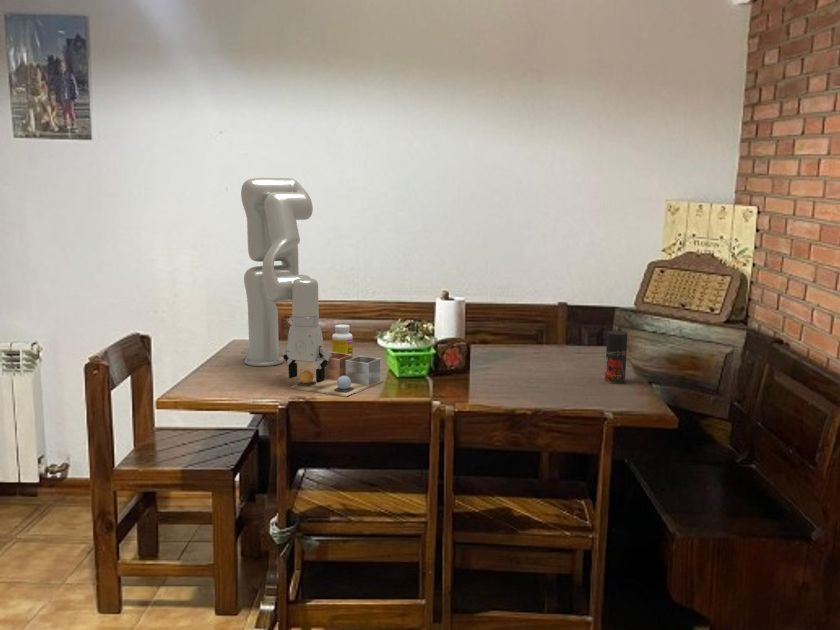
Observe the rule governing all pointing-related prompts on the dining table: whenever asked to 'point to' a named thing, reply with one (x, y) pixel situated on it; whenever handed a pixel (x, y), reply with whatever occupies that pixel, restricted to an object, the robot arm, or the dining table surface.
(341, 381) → the slate ball
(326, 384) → the stand
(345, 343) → the supplement bottle
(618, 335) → the deodorant
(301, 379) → the orange ball
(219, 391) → the dining table surface
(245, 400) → the dining table surface
